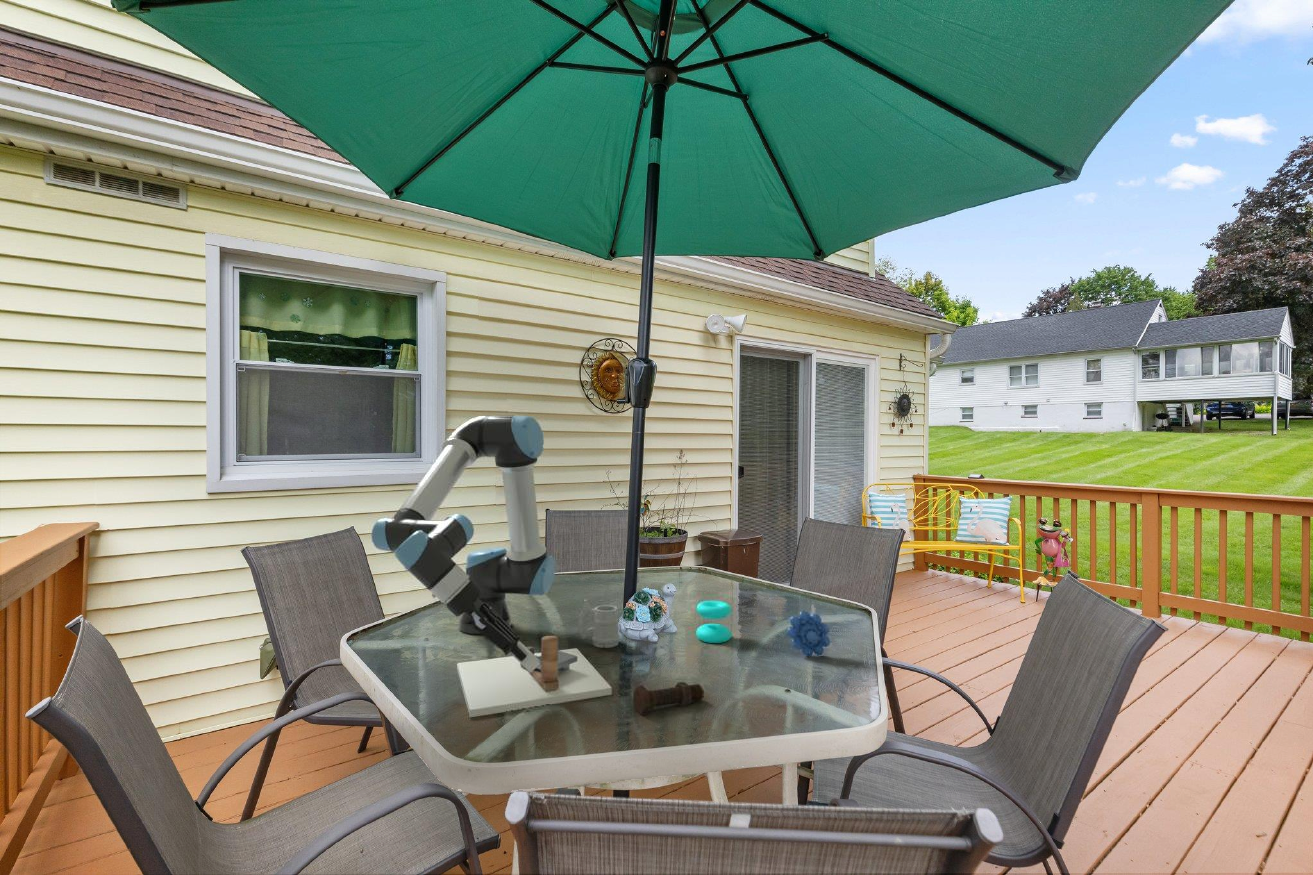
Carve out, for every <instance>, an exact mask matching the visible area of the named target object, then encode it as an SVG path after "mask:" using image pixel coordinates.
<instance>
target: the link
mask: <svg viewBox="0 0 1313 875" xmlns="http://www.w3.org/2000/svg"><path fill="white" fill-rule="evenodd" d="M540 643H541V647H540V648H541V649H540V651H541V652H540V653H541V670H540V669H537V668H535V669H534V670H533V671H532V672H531V673H530V674H531V675H532V676H533V677H534V678H535V679H536V681H537V682H538V683H539V684H540V685H541V687H542V688H543V689H544V690H545V691H548V690H553V689H559V681H558V680H557V678H558V651H559V637H558V636H556V635H546V636H542V637H541V642H540ZM526 648H527V649H528V650H529V651H530V652H531V653H532V654H533V655H534V654H535V647H533V646H527V647H526ZM534 656H535V657H538V656H536V655H534ZM520 666H522V667H524V666H523V665H522V664H521V663H520Z"/></svg>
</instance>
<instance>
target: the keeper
mask: <svg viewBox="0 0 1313 875" xmlns="http://www.w3.org/2000/svg"><path fill="white" fill-rule="evenodd" d="M537 658H538V659H539V660H540V664H539V665H538V666H537V667H536V668H537V669H540V670H541V656H539V657H537ZM574 662H577V656H575V655H571V654H568V653H565V652H561V651H559V650H558V670H561V671H565V670H568V669H570V664H572V663H574Z"/></svg>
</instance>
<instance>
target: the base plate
mask: <svg viewBox="0 0 1313 875" xmlns="http://www.w3.org/2000/svg"><path fill="white" fill-rule="evenodd" d="M558 651H561V652H565V653H568V654H571V655H575V656H577V662H574V663H572V664H570V669H568V670H565V671H561V670H558V678H557V680H558V681H559V689H553V690H548V691H545V690H544V689H543V688H542V687H541V685H540V684H539V683H538V682H537V681H536V679H535V678H534V677H533V676H532V675H531V674H530V672H529V671H528V670H527V669H526V668H525V667H522V666H520V662H519V661H518V660H517V659H516V658H515V657H514V656H513V655H511V656H506V657H504V656H503V657H497V658H496V657H495V658H487V659H480V660H471V661H465V662H457V663H456V671H457V674H458V677H459V682H460V685H461V690H462V694H463V697H464V701H465V704H466V708H467V712H468V715H469V716H468V717H469V718H474V717H481V716H488V715H493V714H499V713H500V714H501V713H505V712H506V711H507V712H512V711H511V710H513V711H517V710H518V709H519V710H523V709H522V708H525V709H530V708H529V707H532V708H535V707H534V706H538V707H543V706H542V705H544V706H546V705H545V704H550V705H554V704H556V705H557V704H562V703H563V704H564V703H570V702H574V701H580V700H586V699H593V698H598V697H599V698H600V697H604V696H605V697H606V696H611V695H612V694H613V692H612V686H611V685H610V684H609V683H608V681H606V679H604V677H603V676H602V675H601V674H600V673H599V671H597V669H595V667H594V666H593V665H592V664H591V662H589V661H588V659H587V658H586V657H585V656H584V655H583V653H581V651H580V650H579V649H578V648H576V647H575V648H569V649H561V650H559V649H558ZM534 655H536V656H538V657H539V656H541V652H534ZM519 710H518V711H519Z"/></svg>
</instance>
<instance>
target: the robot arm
mask: <svg viewBox="0 0 1313 875" xmlns="http://www.w3.org/2000/svg"><path fill="white" fill-rule="evenodd" d="M544 441H545V440H544V434H543V429H542V427H541V426H540V423H539V421H537V420H536V419H535V418H534V417H532V416H530V415H520V414H514V415H511V414H510V415H509V414H508V415H480V416H475V417H473V418H471V419H469V420H468V421H466V422H464V423H463V424H462V425H460V426H459V427H458V428H456V429H455V430H454V431H453V432H452V433H451V434H450V435H449V436H448V437H447V438H446V439H445V441H444V442H443V444H442V451H441V453H440V454H439V456H437V458H436V459H435V461H434V462H433V463H432V465H431V466H430V467H429V469H428V470H427V472H426V473H425V474H424V475H423V477H422V478H421V479H420V481H419V482H418V483H417V485H416V486H415V488H413V490H412V491H411V493H410V494H409V496H408V497H407V498H406V500H405V501H404V502H403V504H402V505H401V506H400V507H399V509H398V510H397V512H396V513H395V514H394V515H393V517H386V518H385V517H384V518H381V519H379V520H377V521H376V522H375V524H374V525H373V527H372V531H371V542H372V543H373V545H374V547H375V548H376V549H377V550H379V551H384V552H386V551H387V552H391V553H394V556H395V558H396V559H397V560H398V561H399V562H400V564H401V565H402V566H403V567H404V569H405V570H407V571H408V572H409V573H410V574H411V575H412V576H414V578H416V579H417V580H418V581H419V582H420V583H421V584H422V585H423V586H425V588H426V589H427V590H428V591H430V593H432V594H431V597H432V598H434V599H435V598H436V599H438V600H439V601H440V602H441V603H442V604H443V603H446V604H445V608H446V609H448V610H449V611H450V612H451V613H452V614H453V615H454V616H455V617H459V622H458V629H459V630H460V632H462V633H466V634H471V635H483V636H484V637H485V638H486V639H488V640H489V641H490V642H491V643H493V645H495V646H496V647H497V648H498V649H500V650H501V651H502V652H503V653H504V655H505V656H507V655H509V654H510V655H511V656H514V657H515V658H516V659H517V660H518V661H519V662H520V663H521V664H522V665H523V666H524V667H525V668H526V669H527V670H528V671H529V672H530V673H531V672H532V671H533V670H534V669H535V668H536V667H537V666H538V665H539V664H540V660H539V659H538V658H537V657H535V656H534V655H533V654H532V653H531V652H530V651H529V650H528V649H527V647H526V646H525V645H524V644H523V643H522V642H521V641H520V639H521V638H522V636H521V635H520V634H519V635H518V634H517V632H515V630H514V629H513V628H512V627H511V626H512V616H511V613H510V609H509V607H508V603H507V598H506V596H507V595H520V596H521V595H523V596H530V597H533V596H543V595H546V594H547V593H548V592H549V590H550V588H551V586H552V584H553V580H554V577H555V574H556V560H555V558H554V556H552V555H548V552H547V547H546V546H545V545H544V544H542V542H541V535H540V528H539V516H538V507H537V496H536V495H537V494H536V485H535V479H534V478H535V477H534V476H535V475H534V466H535V465H536V464H537V463H538V457H540V456H541V455H542V453H543V450H544V444H545V442H544ZM485 457H488V458H489V457H490V458H494V462H495V466H496V467H497V468H498V469H500V470H501V475H502V483H503V484H502V485H503V490H504V500H505V509H506V517H507V527H508V535H509V544H510V546H509V547H510V548H508V550H507V548H506V547H494V548H486V549H480V550H476V551H472V552H471V553H468V555H467V557H466V562H465V563H466V564H465V570H463V568H461V567H460V565H458V564H457V563H456V562H455V561H454V560H453V559H452V558H454V556H456V555H457V554H458V553H459V552H460V551H461V550H462V549H463V548H465V547H466V546H467V545H468V543H469V542H470V541H471V539H472V538H473V537H474V531H475V529H474V525H473V523H472V521H471V520H470V519H469V518H468V517H467V516H466V515H464V514H461V513H454V514H451V515H449V516H446V518H444V520H437V519H436V520H435V519H432V518H433V517H434V515H435V514H436V512H438V510H439V508H440V507H441V505H442V504H443V502H445V500H446V499H447V496H448V495H449V493H450V492H451V491H452V490H453V488H454V486H455V485H456V483H457V482H458V480H459V479H460V477H461V476H462V474H463V473H464V471H465V470H466V468H467V467H470V466H472V465H473V464H474V463H475V462H476V461H477V459H480V458H485ZM506 594H507V595H506Z"/></svg>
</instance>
